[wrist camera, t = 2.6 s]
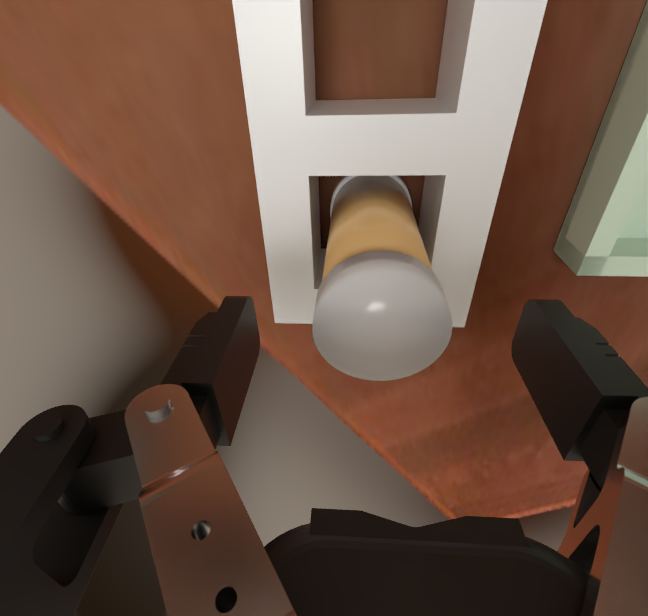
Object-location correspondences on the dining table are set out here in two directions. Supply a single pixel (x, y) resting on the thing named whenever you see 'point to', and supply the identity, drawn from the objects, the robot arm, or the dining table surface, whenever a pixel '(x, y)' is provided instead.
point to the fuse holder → (383, 139)
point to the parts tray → (614, 180)
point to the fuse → (378, 285)
